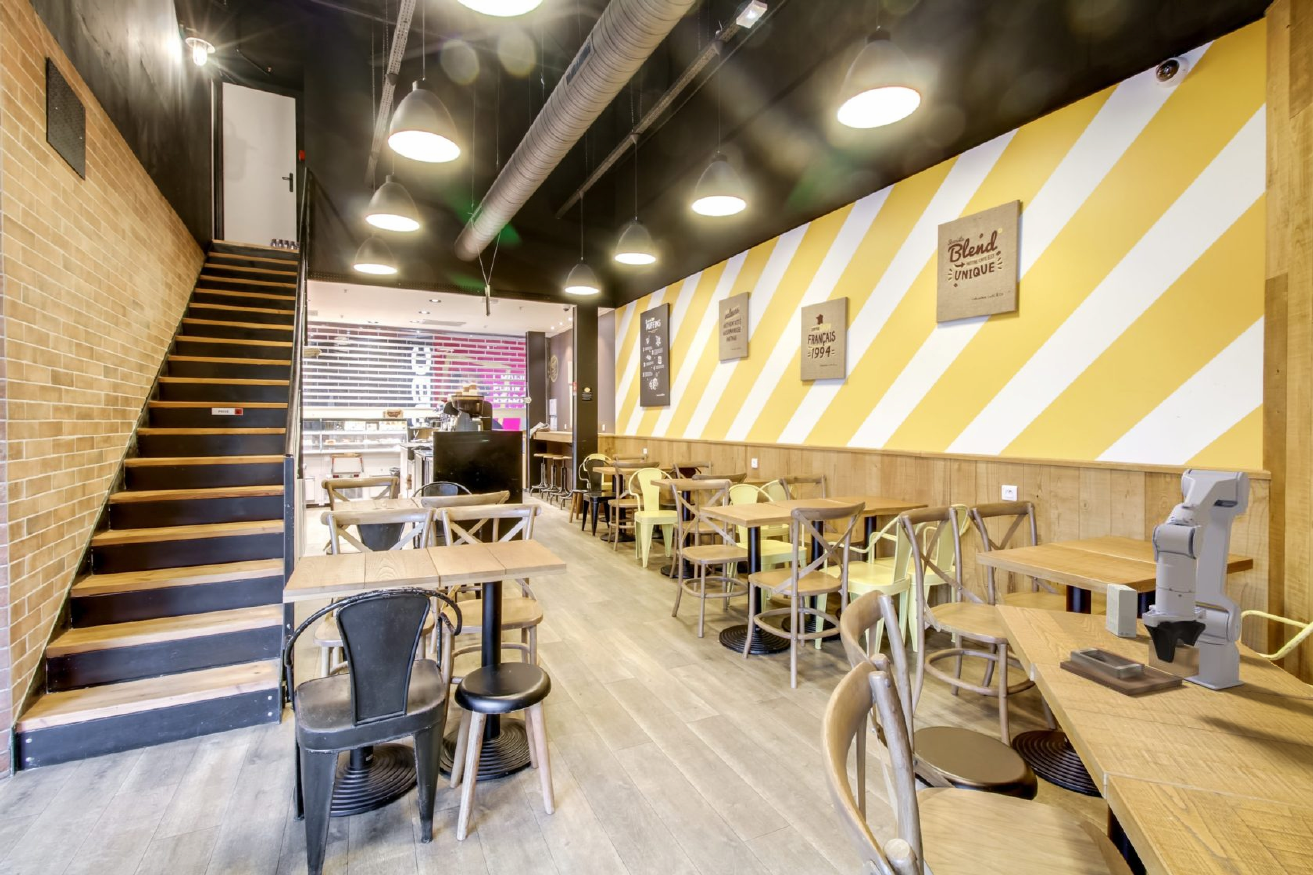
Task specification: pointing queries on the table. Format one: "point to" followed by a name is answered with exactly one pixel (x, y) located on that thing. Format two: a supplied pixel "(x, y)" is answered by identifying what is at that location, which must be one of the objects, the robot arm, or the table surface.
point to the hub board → (1117, 671)
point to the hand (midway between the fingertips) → (1173, 659)
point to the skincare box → (1121, 610)
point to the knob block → (1177, 660)
